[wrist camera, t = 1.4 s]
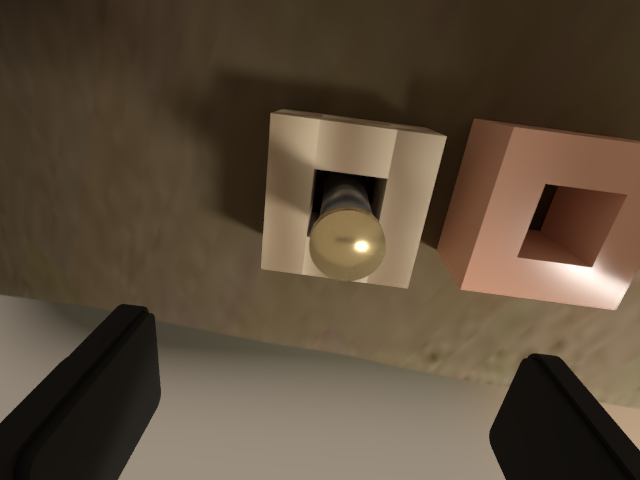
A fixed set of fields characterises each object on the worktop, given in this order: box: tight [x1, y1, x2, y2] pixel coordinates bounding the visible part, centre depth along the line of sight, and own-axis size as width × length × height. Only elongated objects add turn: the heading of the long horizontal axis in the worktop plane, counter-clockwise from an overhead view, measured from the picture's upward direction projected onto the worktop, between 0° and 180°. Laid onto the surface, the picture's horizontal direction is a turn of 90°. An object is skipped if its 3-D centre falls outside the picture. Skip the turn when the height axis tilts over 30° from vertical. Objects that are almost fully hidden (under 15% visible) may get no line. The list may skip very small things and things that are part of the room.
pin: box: [309, 171, 386, 281], centre depth 21 cm, size 4×4×11 cm
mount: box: [261, 109, 447, 288], centre depth 24 cm, size 10×10×5 cm
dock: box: [437, 118, 640, 310], centre depth 23 cm, size 10×10×6 cm
